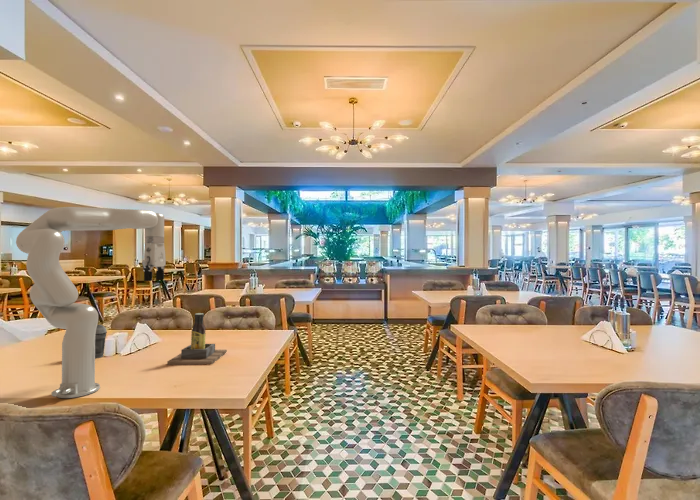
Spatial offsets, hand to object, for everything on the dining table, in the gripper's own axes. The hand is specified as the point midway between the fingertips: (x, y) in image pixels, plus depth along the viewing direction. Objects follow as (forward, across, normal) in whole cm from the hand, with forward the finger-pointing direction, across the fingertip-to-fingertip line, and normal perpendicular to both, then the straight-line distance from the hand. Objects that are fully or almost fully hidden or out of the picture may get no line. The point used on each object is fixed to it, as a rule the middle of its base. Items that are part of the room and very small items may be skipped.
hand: (154, 280), depth 158 cm
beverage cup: (+38, +17, +36) cm, 55 cm away
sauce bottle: (+37, +14, -14) cm, 42 cm away
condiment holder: (+38, +14, -14) cm, 43 cm away
